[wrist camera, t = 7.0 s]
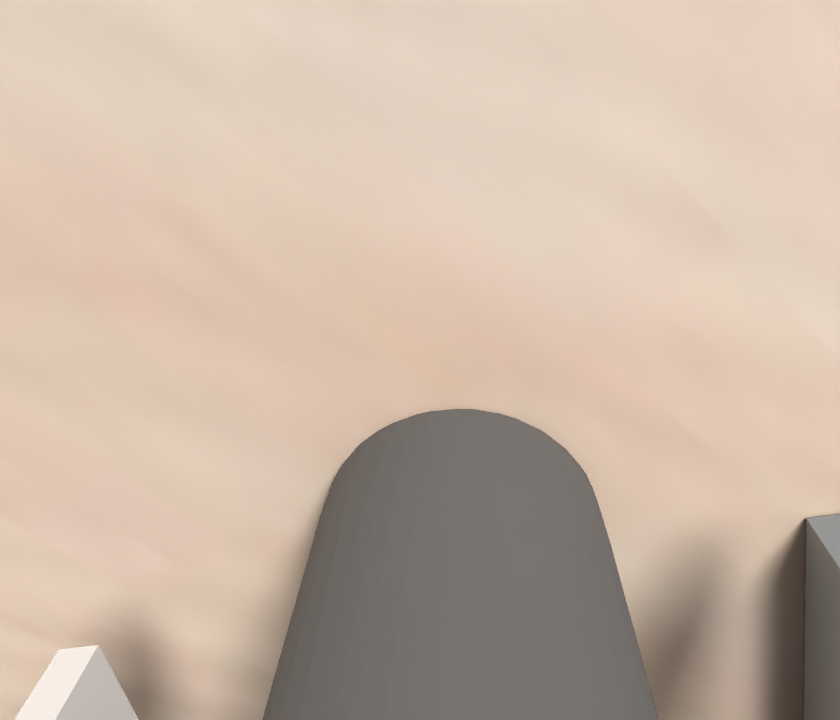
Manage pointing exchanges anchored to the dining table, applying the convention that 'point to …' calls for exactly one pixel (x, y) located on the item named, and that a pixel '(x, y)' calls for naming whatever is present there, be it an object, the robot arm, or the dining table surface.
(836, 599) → the tray
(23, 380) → the dining table surface
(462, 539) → the bottle
